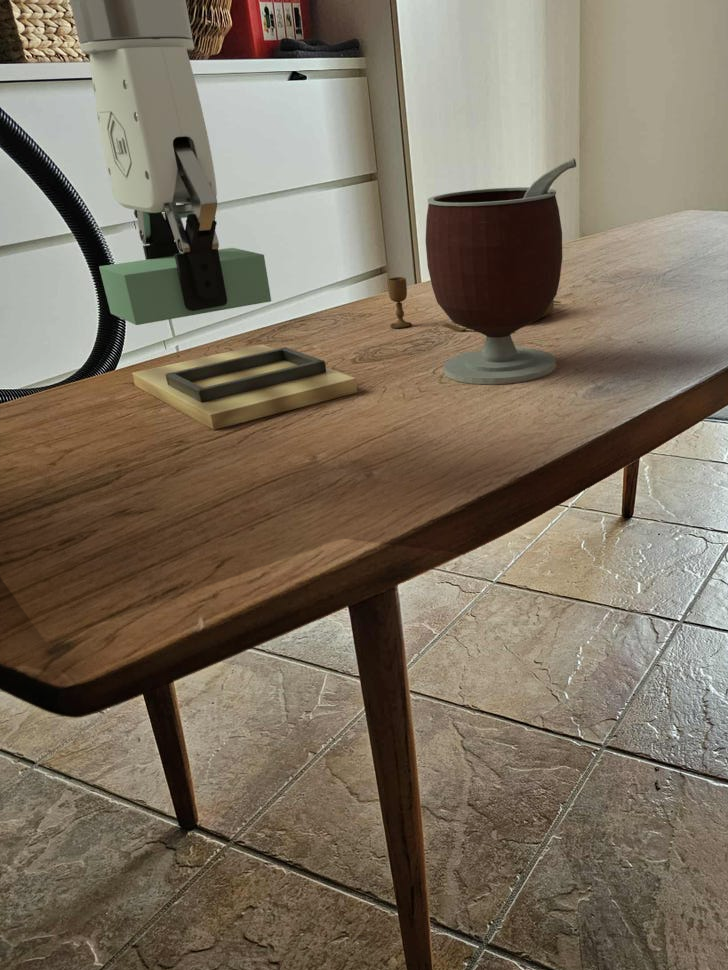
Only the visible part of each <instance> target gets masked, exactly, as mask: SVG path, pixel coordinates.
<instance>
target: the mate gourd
mask: <svg viewBox="0 0 728 970" xmlns="http://www.w3.org/2000/svg"><path fill="white" fill-rule="evenodd" d="M574 168H577V160H576V158H571V159H569V160H567V161H565V162H563V163H560V164H558V165H557V166H555V167H554V168H552V169H550V170H549V171H547V172H546V173H544V174H541V176H540V177H538V178H537V179H535V181H534V182H533V183H532V184H531V185H530V187H529V186H528V187H527V186H524V187H521V186H519V187H494V188H482V189H481V188H480V189H471V190H462V191H455V192H449V193H448V192H447V193H442V194H438V195H434V196H433V195H432V196H431V197H429V198H427V203H428V204H427V211H426V218H425V219H426V221H425V222H426V223H425V251H426V262H427V263H426V264H427V270H428V275H429V279H430V283H431V288H432V291H433V294H434V297H435V300H436V302H437V304H438V305H439V307H440V308H441V309H442V310H443V312H444V313H445V314H446V315H447V317H448V318H449V319H450V320H451V322H452V323H454V324H456V325H458V326H460V327H462V328H469V329H468V330H472V331H474V332H476V333H479V334H482V335H484V336H485V337H486V338H485V340H484V344H483V347H482V349H479V350H474V351H468V352H465V353H460V354H458V355H455V356H453V357H451V358H449V359H448V360H446V362H444V363H443V373H444V375H445V377H447V378H448V379H450V380H452V381H456V382H459V383H464V384H471V385H508V384H517V383H524V382H528V381H532V380H536V379H539V378H543V377H545V376H548V375H549V374H551V373H553V372H554V371H555V370H556V368H557V358H556V357H555V355H554V354H553V353H550V352H548V351H544V350H542V349H541V350H540V349H535V348H528V347H527V348H525V347H516V345H515V343H514V341H513V338H512V334H513V333H515V332H517V331H518V330H521V329H523V328H524V327H526V326H529V325H530V324H533V323H534V322H536V321H539V320H541V319H542V318H541V317H542V316H543V315H544V313H545V312H546V310H547V309H548V307H549V306H550V304H551V302H552V301H553V300H554V299H555V298H556V296H557V294H558V290H559V286H560V280H561V272H562V266H563V228H562V222H561V216H560V215H561V214H560V208H559V206H558V205H559V204H558V200H557V197H556V195H557V190H556V189H553V188H551V186H552V185H553V184H554V182H555V181H556V180H557V179H558V178H559V177H560V176H561V175H562V174H563V173H564V172H566V171H568V170H570V169H574ZM540 318H541V319H540ZM538 319H539V320H538Z"/></svg>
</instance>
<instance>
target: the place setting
mask: <svg viewBox="0 0 728 970" xmlns="http://www.w3.org/2000/svg"><path fill="white" fill-rule="evenodd" d="M406 278H407V277H404V276H395V277H389V278H387V279H386V283H387V292H388V296H389V299H390V300H391V301H392V302H394V303H395V307H396V311H395V316H396V318H397V320H396V321H395V322H394V323H391V324H390V328H391V329H406V328H410V327H412V326H413V324H412V322H409V321H406V320H405V319H404V316H405V312H404V309H403V302H404V301H405V300H406V299H407V296H408V285H407V279H406ZM561 303H562V301H559V300H554V299H553V301H552V302H551V304H550V306H549V307H548V309H547V310H546V312H545V313H544V315H543V316H542V317H543V318H544V317H546V316H548V315H549V314H550V313H552V311H553V309H554V306H555V304H561ZM542 317H541V319H543V318H542ZM441 327H444V328H447V329H449V330H453V331H456V332H463V331H466V330H470V329H469V328H466V327H462V326H456V325H453V324H451V323H447V322H444V323H441Z"/></svg>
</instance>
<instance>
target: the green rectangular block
mask: <svg viewBox="0 0 728 970" xmlns="http://www.w3.org/2000/svg"><path fill="white" fill-rule="evenodd" d="M218 252H219V258H220V263H221V268H222V274H223V279H224V284H225V290H226V295H227V303H226V305H224V306H219V307H213V308H207V309H201V310H196V311H191V310H188V309H187V308H186V307H185V303H184V298H183V294H182V289H181V284H180V279H179V275H178V270H177V265H176V260H175V256H169V257H162V258H155V259H148V260H146V259H142V260H135V261H127V262H121V263H113V264H107V265H99V267H98V268H99V273H100V276H101V281H102V284H103V288H104V292H105V297H106V301H107V304H108V308H109V312H110V314H111V315H113V316H114V317H117V318H120V319H122V320H123V321H126V322H127V323H128V322H129V323H130V324H133V325H135V326H139V325H145V324H150V323H157V322H163V321H168V320H173V319H179V318H185V317H186V318H187V317H191V316H197V315H202V314H208V313H213V312H219V311H225V310H231V309H235V308H241V307H247V306H252V305H259V304H265V303H270V302H272V296H271V290H270V284H269V278H268V277H269V276H268V272H267V265H266V259H265V254H263V253H258V252H253V251H249V250H246V249H245V250H244V249H240V248H236V247H228V248H218Z"/></svg>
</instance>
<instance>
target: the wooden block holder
mask: <svg viewBox="0 0 728 970" xmlns="http://www.w3.org/2000/svg"><path fill="white" fill-rule="evenodd" d="M131 374H132V378H133V382H134V386H135V387H136V388H138V389H140V390H142V391H144V392H146V393H147V394H149V395H151V396H152V397H154V398H156V399H158V400H160V401H162V402H164V403H165V404H167V405H168V406H170V407H172V408H174V409H176V410H177V411H180V412H181V413H183V414H185V415H186V416H188V417H190V418H192V419H193V420H195V421H196V422H199V423H201V424H202V425H204V426H206V427H208V428H209V429H211V430H213V431H215V430H219V429H224V428H227V427H231V426H235V425H238V424H242V423H246V422H250V421H254V420H258V419H261V418H266V417H269V416H273V415H277V414H281V413H285V412H288V411H293V410H296V409H300V408H303V407H307V406H311V405H315V404H319V403H322V402H327V401H330V400H335V399H338V398H341V397H347V396H349V395H354V394H357V393H358V385H357V378H356V377H353V376H351V375H349V374H345V373H343V372H339V371H337V370H334V369H332V368H329V367H327V366H326V361H325V360H323V359H320V358H317V357H315V356H312V355H309V354H307V353H303V352H301V351H298V350H294V349H293V348H292V349H291V348H289V347H287V346H285V347H280V348H274V347H271V346H268V345H265V344H263V343H262V344H257V345H253V346H248V347H243V348H240V349H239V348H238V349H235V350H231V351H226V352H220V353H217V354H216V353H215V354H212V355H207V356H203V357H197V358H194V359H189V360H184V361H180V362H179V361H178V362H175V363H171V364H166V365H162V366H157V367H153V368H148V369H144V370H143V369H142V370H138V371H134V372H131Z"/></svg>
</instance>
